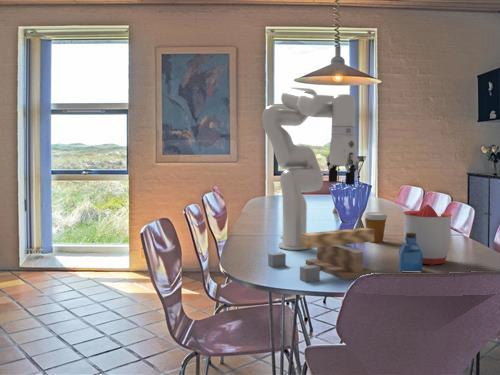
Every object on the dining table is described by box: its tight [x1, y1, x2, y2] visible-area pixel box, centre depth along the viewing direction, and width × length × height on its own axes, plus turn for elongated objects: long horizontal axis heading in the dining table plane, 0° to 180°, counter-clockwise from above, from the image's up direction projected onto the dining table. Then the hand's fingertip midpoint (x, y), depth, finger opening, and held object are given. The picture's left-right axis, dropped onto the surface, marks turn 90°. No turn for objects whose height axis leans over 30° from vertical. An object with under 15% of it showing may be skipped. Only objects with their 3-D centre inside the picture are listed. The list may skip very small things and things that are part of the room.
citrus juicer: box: [403, 204, 453, 266], centre depth 161 cm, size 16×17×20 cm
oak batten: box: [301, 227, 374, 250], centre depth 149 cm, size 26×4×4 cm, turn 116°
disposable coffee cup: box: [363, 211, 388, 244], centre depth 197 cm, size 10×10×12 cm
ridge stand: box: [305, 244, 376, 281], centre depth 150 cm, size 22×11×8 cm, turn 26°
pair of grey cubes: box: [267, 251, 321, 283], centre depth 147 cm, size 23×5×4 cm, turn 26°
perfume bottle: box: [398, 233, 423, 272], centre depth 149 cm, size 6×6×12 cm
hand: (341, 183), depth 157 cm, fingers open, 9 cm apart
